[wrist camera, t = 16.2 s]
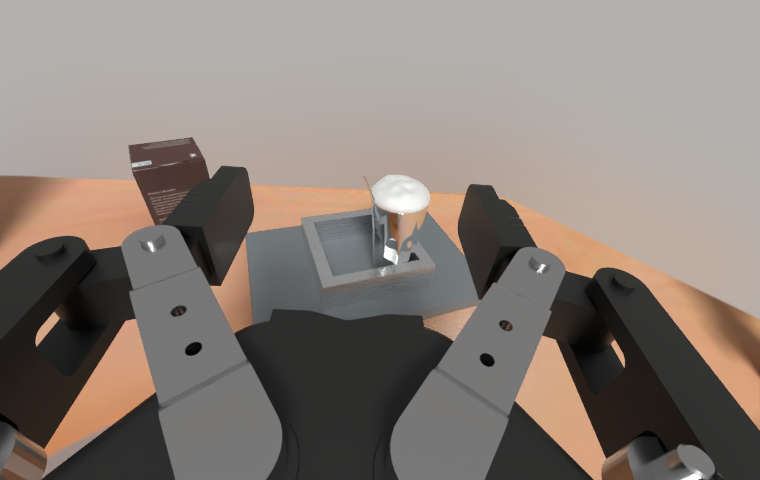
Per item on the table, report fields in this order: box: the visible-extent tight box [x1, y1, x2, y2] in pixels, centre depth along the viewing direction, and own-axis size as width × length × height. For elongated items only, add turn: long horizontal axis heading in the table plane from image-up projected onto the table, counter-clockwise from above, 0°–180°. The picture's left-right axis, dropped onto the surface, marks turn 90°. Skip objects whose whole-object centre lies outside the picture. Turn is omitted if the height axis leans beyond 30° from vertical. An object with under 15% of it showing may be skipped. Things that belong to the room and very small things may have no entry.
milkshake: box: [364, 175, 430, 269], centre depth 27 cm, size 4×5×10 cm
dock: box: [245, 209, 481, 325], centre depth 31 cm, size 20×14×4 cm
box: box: [129, 137, 210, 225], centre depth 35 cm, size 6×6×7 cm
